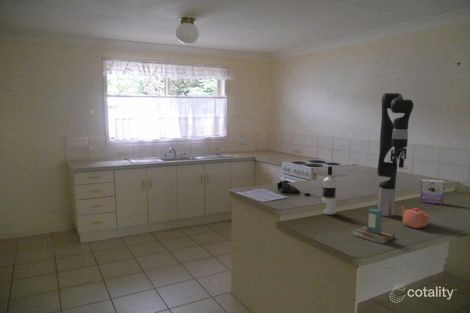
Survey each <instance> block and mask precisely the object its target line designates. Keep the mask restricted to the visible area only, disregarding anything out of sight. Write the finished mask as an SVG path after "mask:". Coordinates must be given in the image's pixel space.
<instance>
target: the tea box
mask: <svg viewBox="0 0 470 313" xmlns="http://www.w3.org/2000/svg"><path fill="white" fill-rule="evenodd" d="M382 217H383V216H382V210H378V208H370V209H367V218H366V220H367V221H366V227H367V233H371V234H375V235H378V234H379V233H381V229H382Z"/></svg>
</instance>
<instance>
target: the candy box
mask: <svg viewBox="0 0 470 313" xmlns="http://www.w3.org/2000/svg"><path fill="white" fill-rule="evenodd" d="M444 187H445V180H437V179H425V178H422V179H421V187H420V201H419V202H420V203H421V202H423V204H430V203H431V204H432V205H440V206H442V205H443V203H444V202H443V201H444V191H445V190H444V189H445V188H444ZM431 204H430V205H431Z"/></svg>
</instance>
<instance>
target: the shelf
mask: <svg viewBox="0 0 470 313" xmlns="http://www.w3.org/2000/svg"><path fill="white" fill-rule="evenodd" d="M395 235H396V234H395V233H393V232H390V231H386V230H381V233H379V234H378V235H375V234H371V233H367V225H364V226H362V227H361V228H358V229H355V228H353V230H352V236H355V237H358V238H361V239H364V240H365V239H366V240H368V241H371V242H375V243H379V244H387V242H389V241H391V240H393V239H394V238H396V236H395Z"/></svg>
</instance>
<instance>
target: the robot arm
mask: <svg viewBox="0 0 470 313" xmlns="http://www.w3.org/2000/svg"><path fill="white" fill-rule="evenodd" d="M413 108H414V102H413V101H412V99H404V98H403V95H402V94H401V93H398V92H391V93H389V92H387V93H385V92H384V93H383V94H382V97H381V122H380V123H381V124H380V134H379V135H380V136H379V156H378V162H377V175H378V176H379V177H383V178H389V179H388V180H385V181H380V182H379V184H378V199H377V200H378V201H377V202H378V203H377V209H378V210H382V217H388V218H389V217H394V214H395V213H394V212H395V198H396V195H395V194H396V182H397V181H396V180H397V175H398V174H397V173H398V167H399V168H401V169H403V168H404V163H405V160H407V151H408V150H407V147H408V142H409V141H408V140H409V139H408V138H409V120H410V116H411V115H412V111H413ZM388 109H390V110H391V112H392V113H393V114H403V116H401V117H396V118H394V119H393V121H392V119H391V117H390V115H389V113H388ZM392 148H394V149H392ZM389 152H390V160H389V162H388V161H385V159H386V156H387V155H388V153H389Z"/></svg>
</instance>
